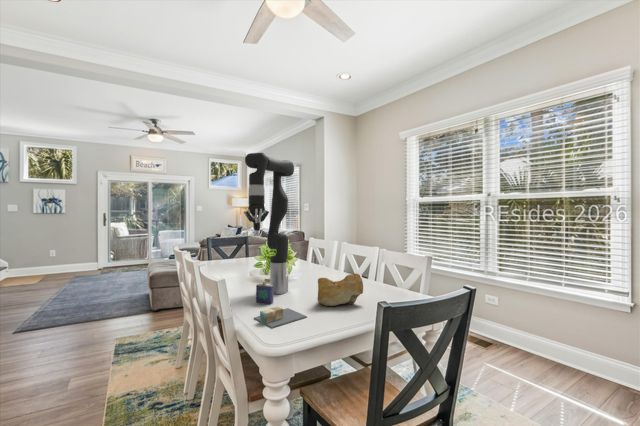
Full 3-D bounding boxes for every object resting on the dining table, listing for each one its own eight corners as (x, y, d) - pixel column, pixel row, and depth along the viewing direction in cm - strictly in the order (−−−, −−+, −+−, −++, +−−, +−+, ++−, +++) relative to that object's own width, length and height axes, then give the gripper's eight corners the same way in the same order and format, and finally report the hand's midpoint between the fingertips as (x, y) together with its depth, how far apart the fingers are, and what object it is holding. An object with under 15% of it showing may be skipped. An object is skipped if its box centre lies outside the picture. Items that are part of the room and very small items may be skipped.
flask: (274, 302, 155) (273, 281, 155) (271, 304, 152) (271, 283, 152) (257, 301, 158) (257, 280, 157) (254, 302, 155) (254, 281, 155)
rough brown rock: (357, 297, 166) (355, 270, 167) (366, 305, 150) (364, 274, 150) (314, 301, 163) (313, 272, 164) (318, 309, 146) (317, 277, 147)
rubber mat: (287, 309, 145) (287, 308, 145) (306, 317, 135) (306, 316, 135) (254, 318, 133) (254, 317, 133) (271, 328, 123) (271, 326, 123)
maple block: (277, 306, 135) (260, 311, 129) (283, 308, 132) (265, 313, 126) (277, 315, 135) (260, 320, 130) (283, 317, 132) (265, 323, 127)
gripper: (264, 195, 155) (264, 229, 155) (240, 194, 146) (240, 230, 146) (272, 194, 149) (272, 230, 150) (248, 194, 140) (248, 232, 141)
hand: (256, 230), depth 148 cm, fingers closed
